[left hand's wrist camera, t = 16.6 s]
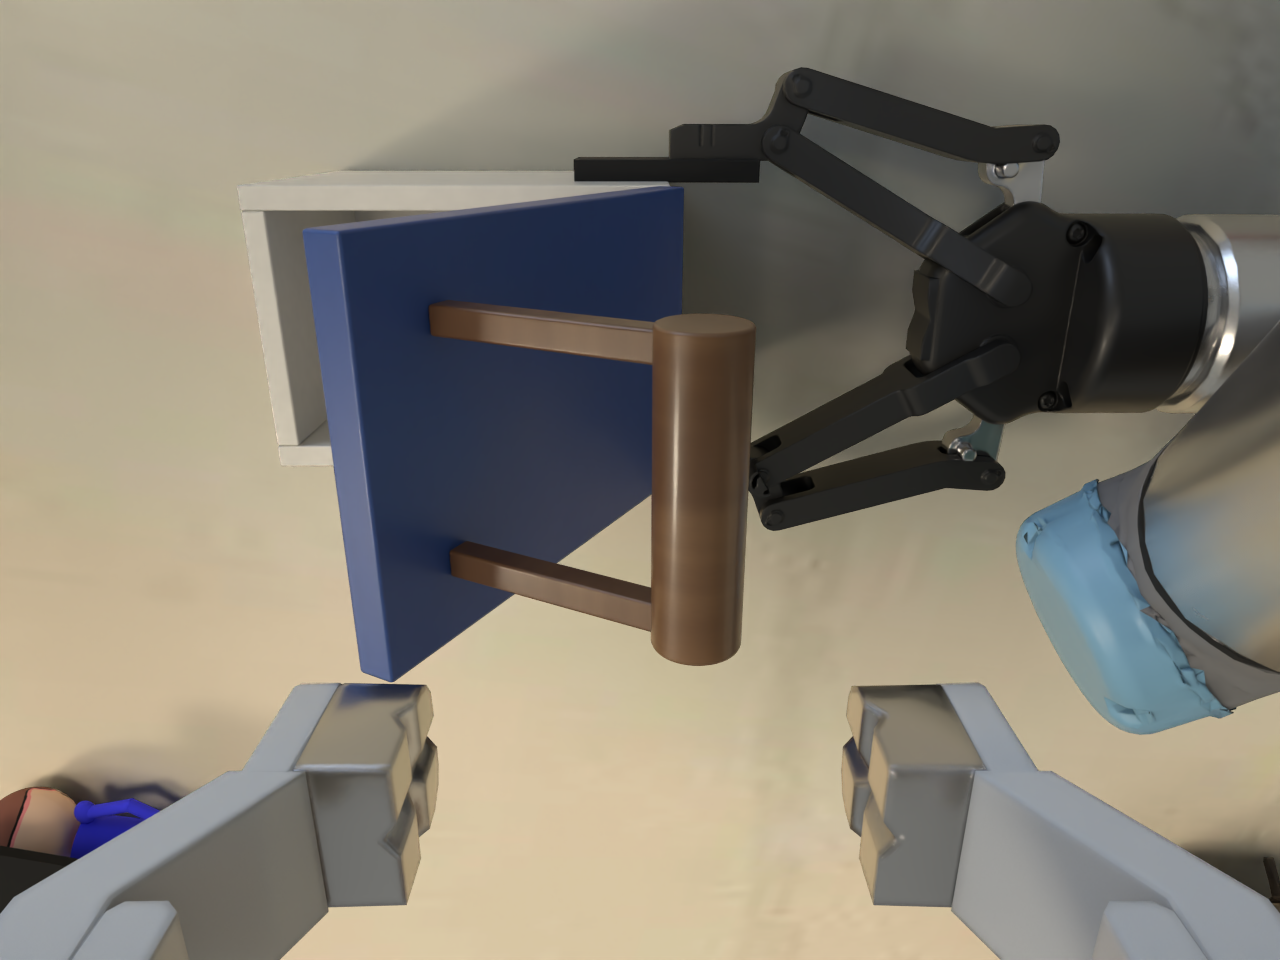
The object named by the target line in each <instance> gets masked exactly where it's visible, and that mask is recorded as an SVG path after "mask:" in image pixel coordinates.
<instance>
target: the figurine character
mask: <svg viewBox="0 0 1280 960" xmlns="http://www.w3.org/2000/svg"><path fill="white" fill-rule="evenodd" d="M126 812H128V813H130V814H133V815H135V816H137V817H139V818H135V817H126V816H117V815H115V814H120V813H126ZM158 812H160V810H158V809H155V808H153V807H151V806H149V805H147V804H144V803H142V802H140V801H138V800H135V799H134V798H130V799H125V800H119V801H113V802H108V803H102V804H96V805H94V804H93V803H92V802H90V801H81V802H79V803H78V804H77V805H76V804H75V802H74V801H73V800H72V799H71V798H70V797H69V796H68V795H66V794H65V793H63V792H61V791H59V790H56V789H53V788H49V787H30V788H25V789H22V790H19V791H16V792H14V793H11V794H10V795H8V796H6V797H4V798H3V799H2V800H0V913H1V912H2V911H3V910H4V909H5V907H6V906H7V905H8V904H9V902H10V901H11V900H12V899H13V898H14V897H15V896H17V895H18V894H20V893H22V892H23V891H25V890H27V889H29V888H30V887H32V886H34V885H35V884H37V883H39V882H40V881H42V880H44V879H46V878H47V877H49V876H51V875H52V874H54V873H56V872H57V871H59V870H61V869H63V868H64V867H66V866H68V865H69V864H71V863H73V862H75V861H76V860H78V859H80V858H81V857H83V856H85V855H86V854H88V853H90V852H92V851H93V850H95V849H97V848H98V847H100V846H102V845H103V844H105V843H107V842H109V841H110V840H112V839H114V838H115V837H117V836H119V835H120V834H122V833H124V832H126V831H127V830H129V829H131V828H132V827H134V826H136V825H138V824H139V823H141V822H143V821H144V820H146V819H148V818H149V817H151V816H153V815H155V814H156V813H158Z"/></svg>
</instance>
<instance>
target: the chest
mask: <svg viewBox="0 0 1280 960" xmlns="http://www.w3.org/2000/svg"><path fill="white" fill-rule="evenodd" d="M655 186H670V184H669V182H648V181H574V171H332V172H325V173H318V174H311V175H305V176H298V177H291V178H284V179H277V180H270V181H263V182H256V183H249V184H242V185H237V191H238V198H239V204H240V210H242V213H241V214H242V220H243V227H244V233H245V239H246V246H247V252H248V259H249V265H250V271H251V278H252V284H253V290H254V297H255V303H256V310H257V316H258V322H259V329H260V335H261V341H262V348H263V354H264V360H265V367H266V373H267V380H268V386H269V392H270V399H271V405H272V411H273V418H274V424H275V430H276V437H277V443H278V445H279V446H278V451H279V457H280V463H281V466H334V465H333V458H332V450H331V443H330V436H329V428H328V421H327V413H326V406H325V398H324V391H323V383H322V376H321V368H320V361H319V353H318V346H317V339H316V331H315V324H314V316H313V309H312V301H311V294H310V286H309V279H308V271H307V264H306V257H305V249H304V242H303V234H302V232H303V230H304V229H306V228H311V227H319V226H327V225H336V224H344V223H353V222H361V221H369V220H378V219H386V218H395V217H403V216H411V215H420V214H428V213H437V212H445V211H453V210H462V209H470V208H479V207H487V206H495V205H504V204H512V203H521V202H529V201H537V200H546V199H554V198H563V197H571V196H579V195H588V194H596V193H605V192H613V191H621V190H630V189H638V188H647V187H655Z"/></svg>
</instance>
